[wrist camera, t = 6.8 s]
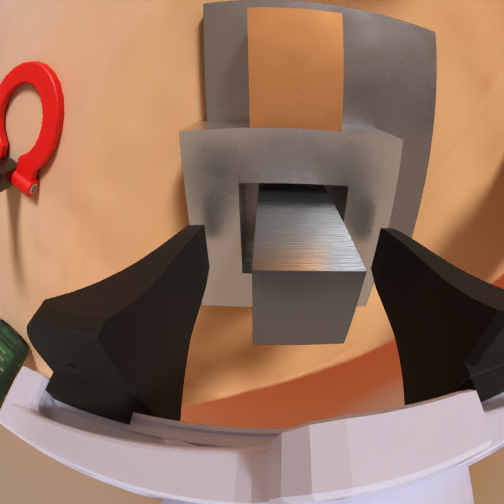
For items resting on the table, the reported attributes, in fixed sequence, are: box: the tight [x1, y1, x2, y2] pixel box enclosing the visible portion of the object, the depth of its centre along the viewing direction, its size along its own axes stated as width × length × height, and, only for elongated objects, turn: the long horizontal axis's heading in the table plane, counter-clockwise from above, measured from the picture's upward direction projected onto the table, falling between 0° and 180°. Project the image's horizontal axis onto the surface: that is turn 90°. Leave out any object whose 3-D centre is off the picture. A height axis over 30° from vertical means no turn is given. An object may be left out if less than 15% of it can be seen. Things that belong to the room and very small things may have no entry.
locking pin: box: [252, 183, 367, 345], centre depth 11 cm, size 3×3×8 cm
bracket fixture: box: [179, 0, 436, 307], centre depth 12 cm, size 12×16×4 cm
